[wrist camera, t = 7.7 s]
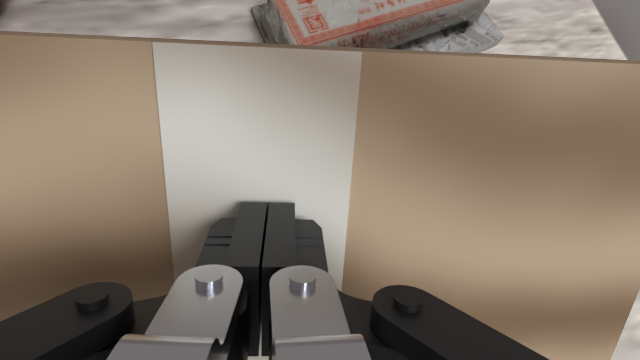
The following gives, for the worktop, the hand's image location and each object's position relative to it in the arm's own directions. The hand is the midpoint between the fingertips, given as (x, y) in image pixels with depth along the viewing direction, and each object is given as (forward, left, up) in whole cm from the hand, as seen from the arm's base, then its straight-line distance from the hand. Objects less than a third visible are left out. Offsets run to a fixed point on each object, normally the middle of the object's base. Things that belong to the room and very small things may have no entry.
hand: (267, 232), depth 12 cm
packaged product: (+23, +4, -15) cm, 28 cm away
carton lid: (-1, 0, -2) cm, 2 cm away
